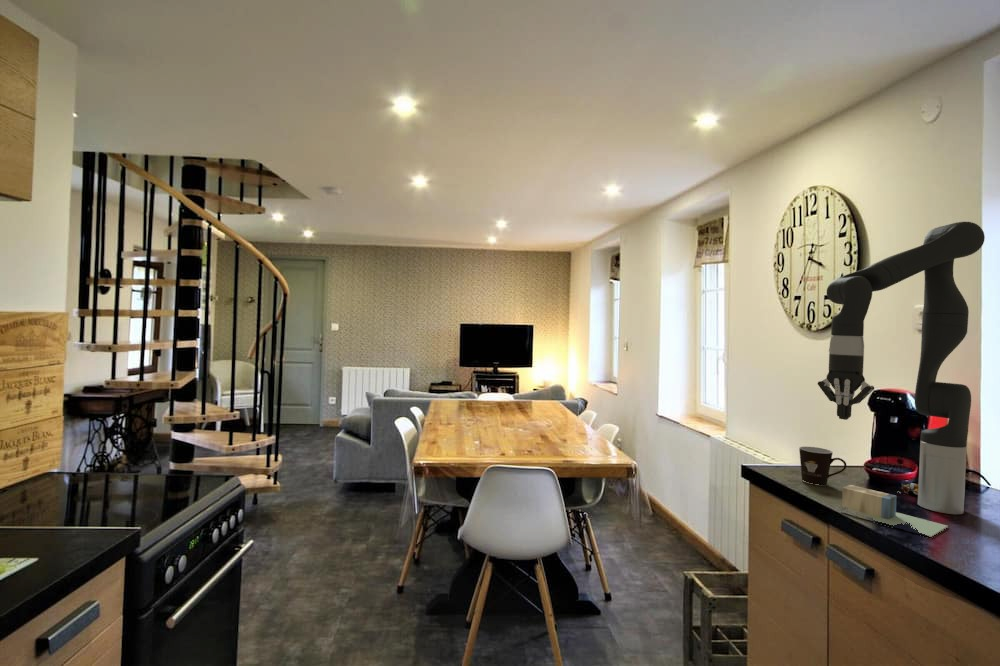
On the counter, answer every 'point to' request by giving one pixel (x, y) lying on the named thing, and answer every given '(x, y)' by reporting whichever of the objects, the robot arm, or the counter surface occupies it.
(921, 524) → the green mat
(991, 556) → the counter surface
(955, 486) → the robot arm
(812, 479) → the coffee mug
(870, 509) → the maple block
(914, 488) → the wrapped sandwich
